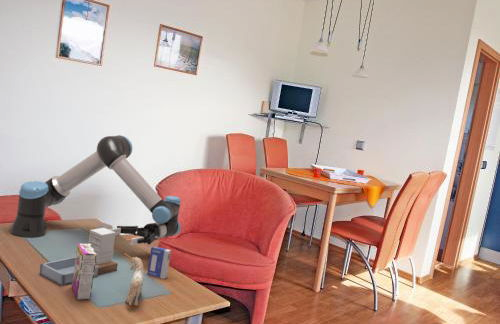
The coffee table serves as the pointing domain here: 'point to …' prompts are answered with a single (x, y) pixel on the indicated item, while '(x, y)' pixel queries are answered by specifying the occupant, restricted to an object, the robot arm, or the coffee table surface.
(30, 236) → the robot arm
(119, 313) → the coffee table surface
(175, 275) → the coffee table surface
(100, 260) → the supplement box
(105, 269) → the walnut board
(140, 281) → the unicorn figurine
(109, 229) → the die
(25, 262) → the coffee table surface
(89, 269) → the candy bar box
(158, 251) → the walkman
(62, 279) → the tray
